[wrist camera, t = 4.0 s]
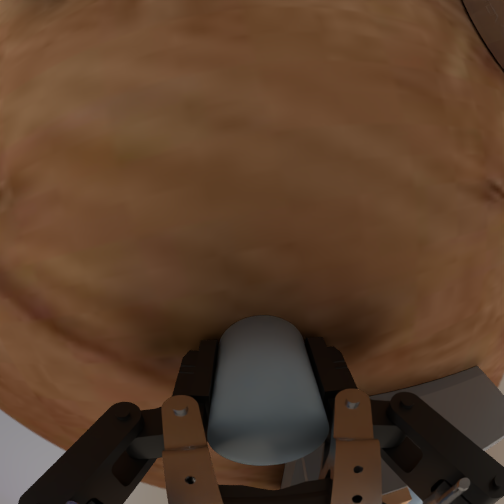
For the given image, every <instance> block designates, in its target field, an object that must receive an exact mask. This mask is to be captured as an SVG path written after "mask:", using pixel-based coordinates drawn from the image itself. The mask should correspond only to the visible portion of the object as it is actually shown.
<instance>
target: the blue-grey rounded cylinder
mask: <svg viewBox="0 0 504 504" xmlns="http://www.w3.org/2000/svg"><path fill="white" fill-rule="evenodd" d="M328 434H329V423H328V419H327V416H326V413H325V409H324V406H323V402H322V399H321V396H320V392H319V389H318V386H317V382H316V379H315V376H314V372H313V369H312V366H311V363H310V359H309V356H308V353H307V350H306V347H305V343H304V340H303V337H302V335H301V333H300V332H299V330H298V329H297V328H296V327H295V326H294V325H292V324H291V323H290V322H288V321H286V320H284V319H281V318H278V317H275V316H268V315H260V316H252V317H248V318H245V319H242V320H240V321H238V322H236V323H234V324H233V325H231V326H230V327H229V328H228V329H227V330H226V331H225V332H224V334H223V335H222V337H221V339H220V341H219V345H218V352H217V360H216V367H215V375H214V383H213V391H212V399H211V407H210V414H209V422H208V431H207V440H208V442H209V444H210V446H211V447H212V449H213V450H214V451H216V452H217V453H218V454H219V455H221V456H223V457H225V458H227V459H229V460H232V461H234V462H238V463H242V464H248V465H259V466H263V465H277V464H283V463H287V462H291V461H294V460H297V459H300V458H302V457H304V456H306V455H308V454H310V453H312V452H313V451H314V450H316V449H317V448H318V447H319V446H321V444H322V443H323V442H324V441H325V439H326V438H327V436H328Z"/></svg>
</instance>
